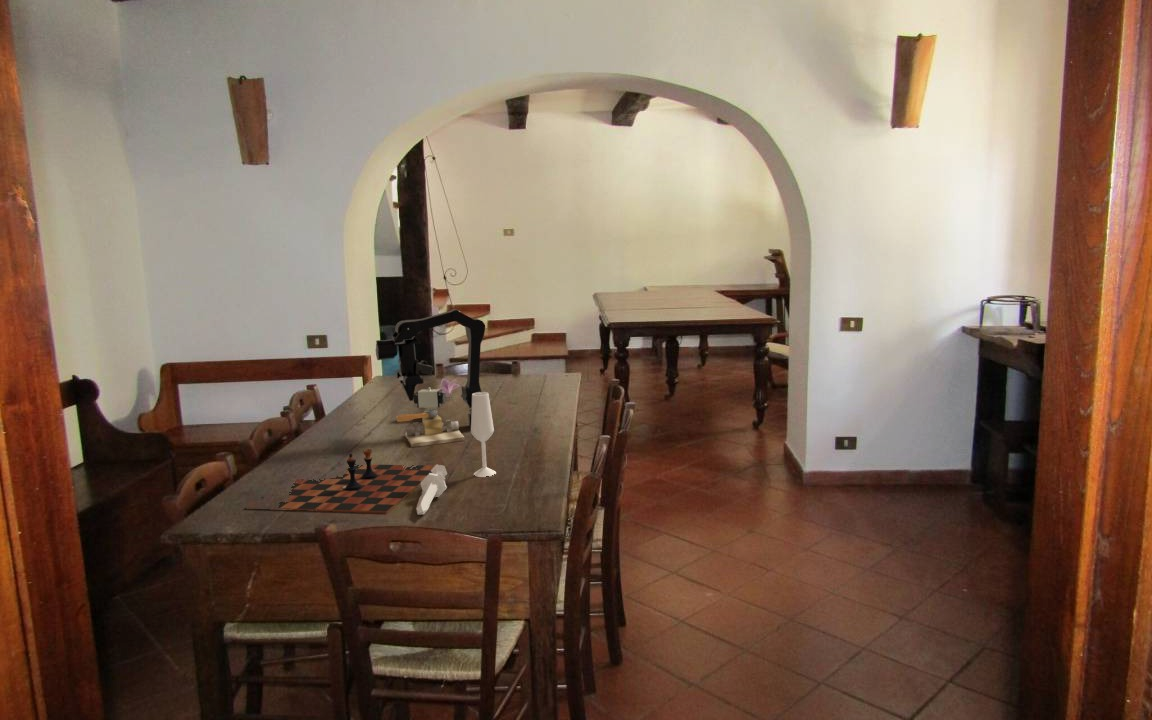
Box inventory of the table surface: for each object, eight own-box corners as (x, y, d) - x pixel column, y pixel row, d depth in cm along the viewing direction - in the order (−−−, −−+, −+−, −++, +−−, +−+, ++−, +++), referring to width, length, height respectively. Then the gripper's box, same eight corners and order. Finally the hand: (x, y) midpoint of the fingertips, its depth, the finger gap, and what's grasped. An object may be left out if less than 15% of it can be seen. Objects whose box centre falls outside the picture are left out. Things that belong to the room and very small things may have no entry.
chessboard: (386, 515, 195) (383, 473, 194) (245, 510, 203) (240, 470, 201) (441, 468, 234) (438, 434, 233) (320, 466, 241) (317, 432, 240)
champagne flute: (486, 478, 221) (482, 397, 217) (468, 475, 224) (463, 395, 220) (500, 471, 226) (496, 392, 222) (483, 468, 230) (478, 390, 226)
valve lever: (437, 417, 267) (437, 412, 267) (398, 422, 262) (397, 417, 262) (435, 415, 270) (434, 410, 270) (396, 420, 265) (396, 415, 265)
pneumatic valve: (443, 419, 293) (441, 388, 291) (414, 419, 295) (412, 389, 293) (448, 415, 299) (446, 385, 297) (419, 416, 300) (417, 386, 298)
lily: (465, 398, 334) (456, 378, 336) (465, 393, 323) (456, 373, 324) (439, 409, 332) (431, 389, 333) (438, 404, 320) (429, 384, 322)
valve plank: (455, 429, 277) (454, 411, 276) (464, 440, 262) (463, 421, 261) (405, 435, 271) (404, 417, 270) (411, 447, 256) (410, 427, 255)
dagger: (436, 515, 189) (459, 464, 216) (417, 500, 188) (443, 450, 215) (416, 534, 191) (442, 482, 218) (398, 519, 190) (426, 468, 217)
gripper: (436, 357, 261) (440, 402, 264) (424, 351, 278) (427, 392, 281) (403, 361, 257) (407, 406, 260) (393, 354, 274) (397, 396, 277)
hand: (411, 400), depth 269 cm, fingers closed
